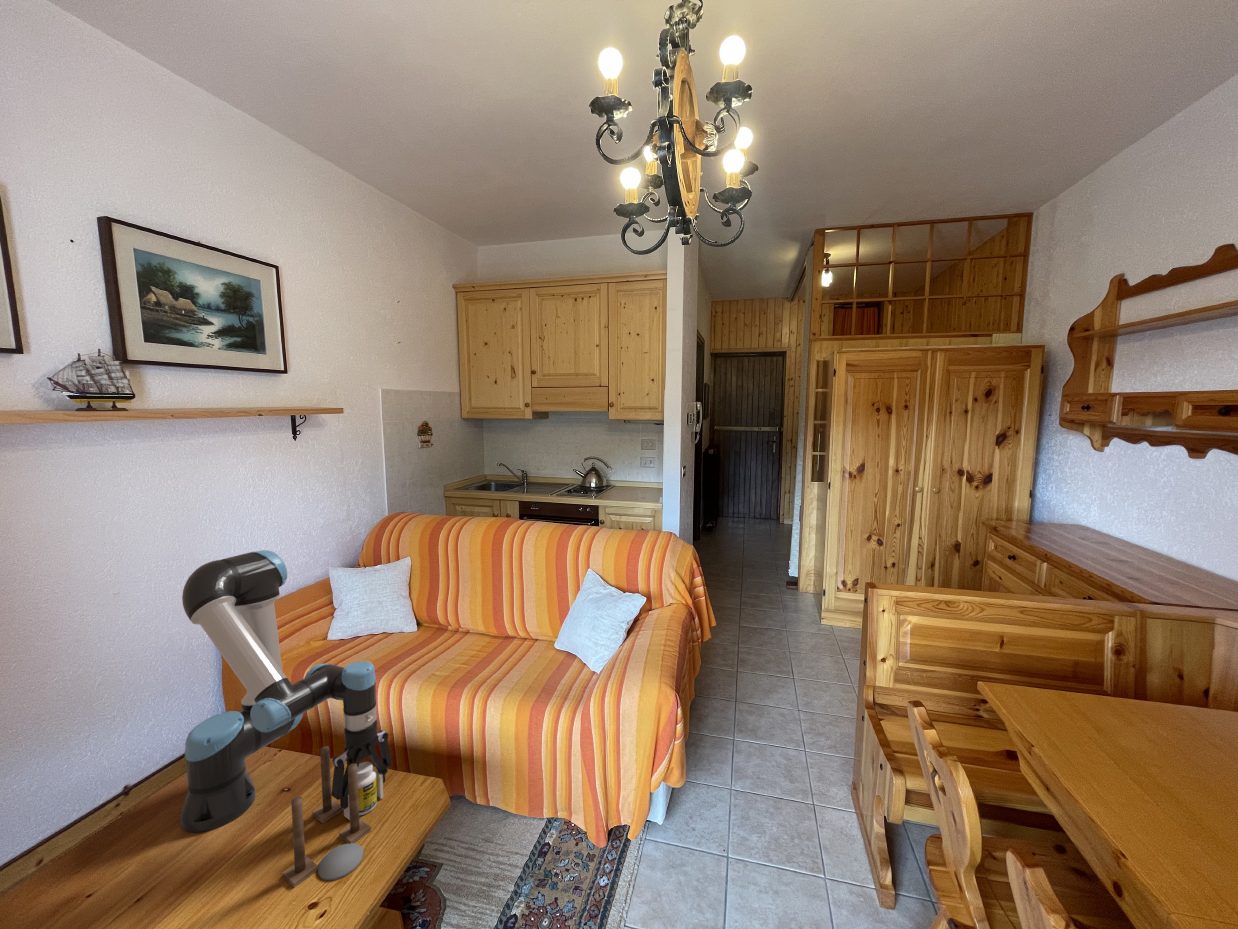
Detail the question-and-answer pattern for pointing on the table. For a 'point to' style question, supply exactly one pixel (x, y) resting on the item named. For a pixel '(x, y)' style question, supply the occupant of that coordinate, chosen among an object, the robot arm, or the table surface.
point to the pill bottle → (366, 787)
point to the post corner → (354, 810)
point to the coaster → (340, 861)
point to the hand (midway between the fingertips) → (364, 806)
